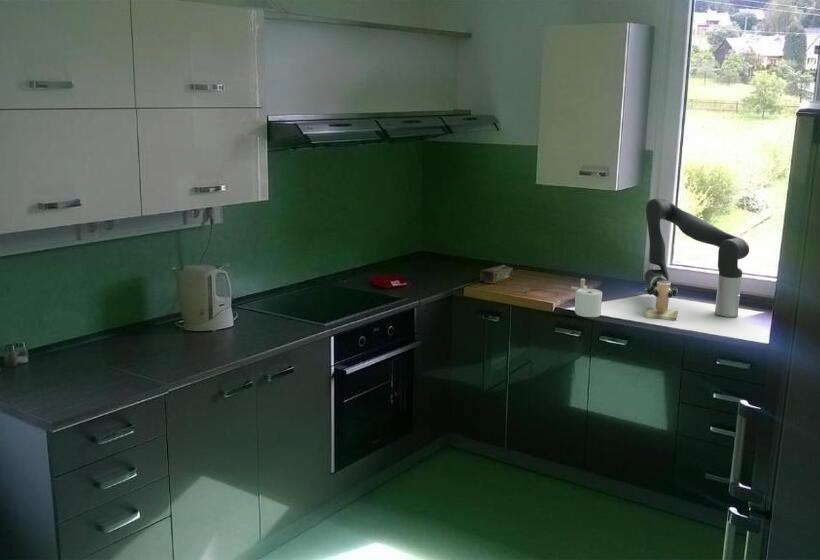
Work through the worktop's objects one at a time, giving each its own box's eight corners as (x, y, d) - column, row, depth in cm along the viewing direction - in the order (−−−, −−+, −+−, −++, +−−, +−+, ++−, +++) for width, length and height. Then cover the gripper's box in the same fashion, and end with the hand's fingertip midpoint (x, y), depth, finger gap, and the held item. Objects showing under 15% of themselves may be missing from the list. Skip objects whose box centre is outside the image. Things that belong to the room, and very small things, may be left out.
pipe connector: (567, 301, 370) (568, 280, 368) (574, 296, 379) (575, 275, 376) (589, 304, 365) (590, 282, 363) (595, 299, 374) (596, 278, 372)
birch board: (677, 313, 352) (678, 310, 352) (676, 320, 342) (676, 317, 341) (646, 310, 357) (647, 307, 357) (644, 317, 346) (644, 314, 346)
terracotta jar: (668, 308, 350) (671, 281, 347) (667, 311, 345) (670, 284, 342) (655, 307, 352) (657, 280, 349) (654, 310, 347) (656, 283, 344)
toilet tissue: (598, 318, 343) (599, 295, 341) (570, 315, 347) (571, 292, 345) (602, 312, 352) (604, 290, 350) (575, 309, 357) (576, 287, 355)
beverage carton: (513, 278, 413) (514, 266, 411) (492, 285, 399) (492, 272, 397) (500, 276, 418) (501, 263, 416) (478, 282, 404) (479, 269, 402)
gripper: (643, 276, 361) (646, 285, 345) (677, 278, 358) (682, 287, 342) (642, 292, 363) (645, 302, 347) (675, 294, 360) (680, 304, 344)
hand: (663, 295), depth 345 cm, fingers closed on terracotta jar, 5 cm apart
